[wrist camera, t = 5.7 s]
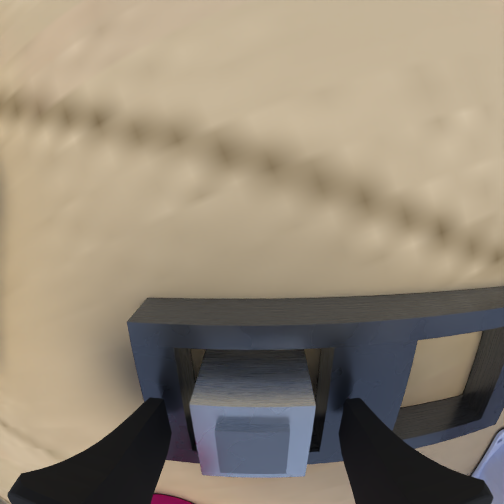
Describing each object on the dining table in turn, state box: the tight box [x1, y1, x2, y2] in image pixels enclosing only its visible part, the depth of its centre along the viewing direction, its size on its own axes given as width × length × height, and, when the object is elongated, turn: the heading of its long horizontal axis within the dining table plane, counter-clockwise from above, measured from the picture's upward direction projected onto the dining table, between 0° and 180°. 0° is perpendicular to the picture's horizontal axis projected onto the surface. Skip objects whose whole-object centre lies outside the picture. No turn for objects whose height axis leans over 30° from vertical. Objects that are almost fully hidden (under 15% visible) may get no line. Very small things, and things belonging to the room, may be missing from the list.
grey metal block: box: [189, 349, 316, 477], centre depth 12 cm, size 4×4×5 cm
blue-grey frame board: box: [127, 286, 504, 464], centre depth 13 cm, size 8×19×2 cm, turn 91°
